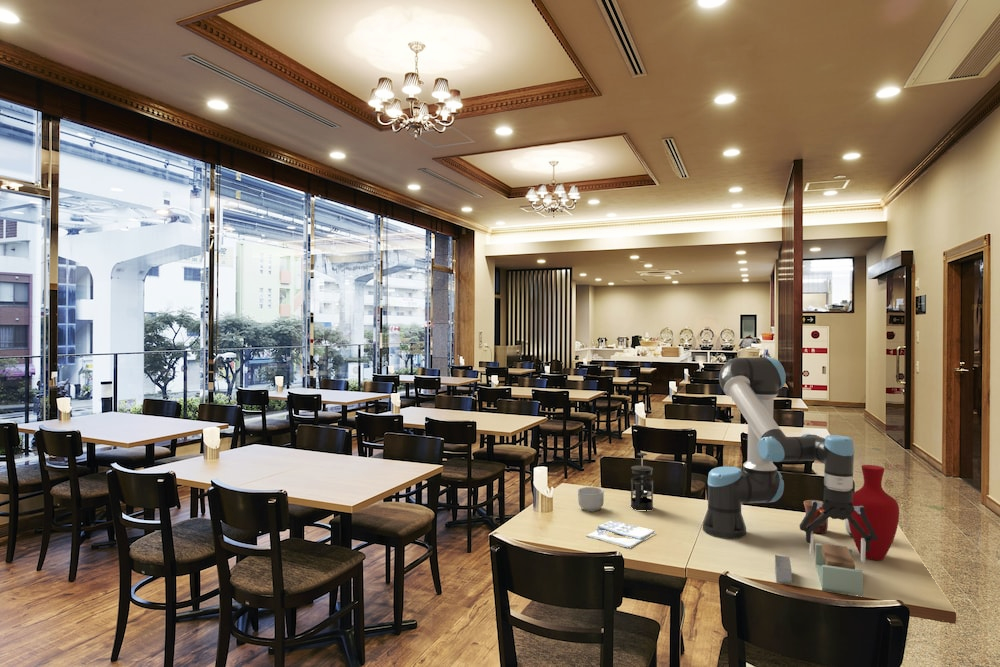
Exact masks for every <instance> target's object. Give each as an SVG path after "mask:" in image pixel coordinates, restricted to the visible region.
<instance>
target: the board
mask: <svg viewBox="0 0 1000 667" xmlns="http://www.w3.org/2000/svg"><path fill="white" fill-rule="evenodd" d="M821 544H822V550H821V553H822V556H823V559H824V562H825V565H828V566H835V567H842V568H849V569H856V564H855V561H854V558H853V556H852V557H851V554H850V552H849V550H848V548H847V547H848V546H844V545H836V544H828V543H821Z"/></svg>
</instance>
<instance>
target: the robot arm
mask: <svg viewBox="0 0 1000 667" xmlns="http://www.w3.org/2000/svg"><path fill="white" fill-rule="evenodd" d="M786 378H787V376H786V371H785V369H784V366H783V365H782V362H781V361H780V360H778V359H776V358H774V357H765V356H764V357H763V356H762V357H761V356H759V357H735V358H731V359H729V360H728V361H726V362H725V363H724V364H723V365H722V367H721V369H720V371H719V376H718V381H719V385H720V387H721V389H722V391H723V394H725V395H726V396H728V397H729V398H731V400H732V401H733V403H734V404H735V406H736V407H737V409H738V410H739V411H740V413H741V414H742V417H743V418H744V419H745V421H746V422H747V460H746V461H745V462H744V463H743V464H742V469H741V468H739V467H736V466H718V467H714V468H712V469H711V470H710V471H709V472H708V477H707V511H706V513H705V516H704V519H703V522H702V531H703V532H705V533H706V534H708V535H710V536H713V537H717V538H723V539H741V538H744V537H746V536H747V526H746V522H745V519H744V517H743V513H742V505H743V504H762V503H763V504H768V503H775V502H777V501H779V500H780V499H781V497H782V496H783V493H784V489H785V482H784V480H783V475H782V474H781V472H780V471H778V467H777V466H776V465H775V464H774V463H779V462H780V463H781V462H807V461H809V462H811V461H812V462H813V461H814V462H815V461H816V462H819V463H822V464H823V465H824V473H823V474H824V476H823V477H824V478H823V485H824V487H823V501H822V503H821V502H816V501H817V499H811V500H812V505H811V508H810V509H809V511H808V513H807V514H806V513H805V516H804V517H803V519H802V520H801V522H800V524H799V530H800V531H803V532H805V542H806V544H809V555H810V556H814V538H815V537H814V534H815V533H813V532H812V531H813V530H814V529H816V528H817V527H818V526H819V525H820V524H821V523H822V522H823V521H825V520H826V519H828V520H829V518H831V519H832V520H837V519H838V520H841V521H845V519H848V520H849V521H850V522H851V523H852V525H853V526H854V527H855V528H856V529H857V530H858V532H859V533H860V534H861V535H862V536H863V537H864V538H861V555H860V561H861V563H863V564H866V558H865V551H868V552H869V550H870V541H871V540H877V536H876V534H875V532H874V530H873V528H872V527H871V525H870V523H869V521H868V519H867V517H866V515H865V509H864V507H863V506H862V505H860V506H853V492H854V491H853V490H852V489H854V464H855V463H854V462H855V461H854V459H855V458H854V455H855V448H854V440H853V438H851V437H850V436H845V435H839V434H829V435H826V436H825V437H822V436H820V435H817V434H810V433H805V434H802V435H801V436H786V434H785V433H784V432H783V431H782V429H781V428H780V426H779V425H778V423H777V422H776V421H775V419H774V401H775V400H774V399H775V398H777V396H778V395H779V390H780V389H782V388H784V386H785V384H786ZM820 507H823V509H824V510H825V511H824V512H822V514H821V515H820V516H819V517H818V518H816V519H815V520H814V521H813V522H812V523H811V524H810V525H809V526H808V527H806V526H807V525H808V523H809V521H810V520H811V518H812V517H813V515H814V513H815V512H816V509H819V508H820ZM854 510H855V511H857V513H858V514H860V515H861V517H862V519H863V521H864V523H865V525H866V527H867V529H868V530H869V532H870V534H869V535H867V533H866V532H865V531H864V530H863V529H862V528H861V527H860V525H859V524H858V523H857V522H856V521H855V520H854V518H853V517H852V516H851V514H852V513H853V512H854Z"/></svg>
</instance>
